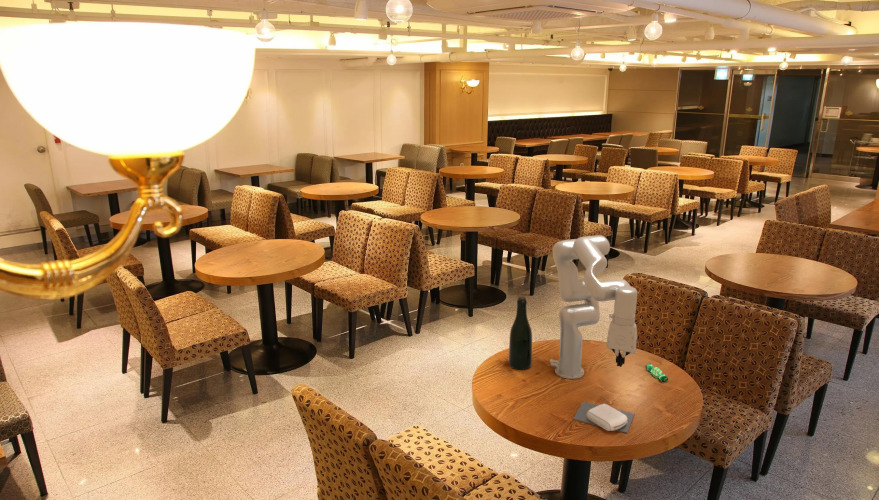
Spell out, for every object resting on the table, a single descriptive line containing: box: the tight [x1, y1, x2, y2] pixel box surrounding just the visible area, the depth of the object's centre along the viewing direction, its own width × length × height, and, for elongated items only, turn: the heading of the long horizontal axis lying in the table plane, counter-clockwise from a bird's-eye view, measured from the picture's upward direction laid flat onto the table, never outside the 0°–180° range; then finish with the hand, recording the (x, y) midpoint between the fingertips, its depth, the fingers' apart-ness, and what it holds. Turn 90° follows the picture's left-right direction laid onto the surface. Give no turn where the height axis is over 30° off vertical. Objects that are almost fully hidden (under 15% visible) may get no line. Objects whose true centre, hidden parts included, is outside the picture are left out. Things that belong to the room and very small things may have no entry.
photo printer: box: [587, 403, 628, 432], centre depth 220 cm, size 10×4×12 cm
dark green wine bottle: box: [508, 295, 533, 370], centre depth 263 cm, size 10×10×33 cm
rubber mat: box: [572, 401, 635, 434], centre depth 225 cm, size 20×14×1 cm
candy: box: [645, 363, 669, 383], centre depth 256 cm, size 12×3×4 cm
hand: (619, 364), depth 219 cm, fingers closed
